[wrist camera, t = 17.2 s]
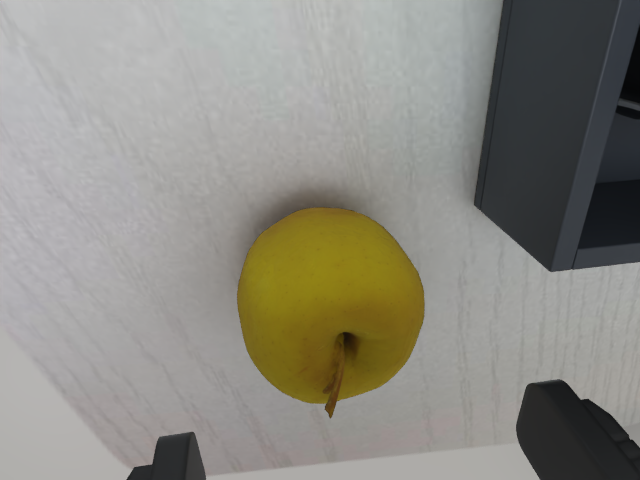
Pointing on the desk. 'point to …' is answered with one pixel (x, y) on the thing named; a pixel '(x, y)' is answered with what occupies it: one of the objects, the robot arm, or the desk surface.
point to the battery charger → (631, 85)
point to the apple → (329, 305)
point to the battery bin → (563, 133)
